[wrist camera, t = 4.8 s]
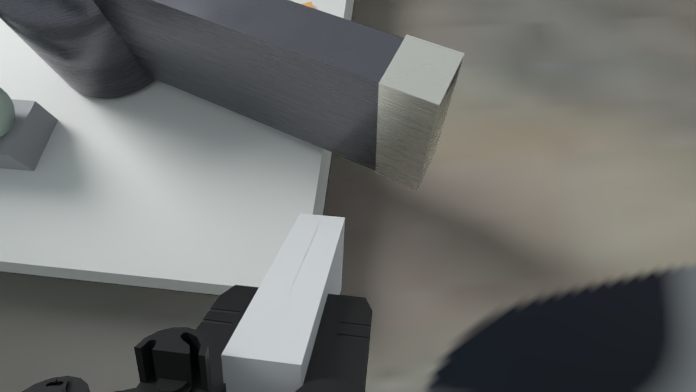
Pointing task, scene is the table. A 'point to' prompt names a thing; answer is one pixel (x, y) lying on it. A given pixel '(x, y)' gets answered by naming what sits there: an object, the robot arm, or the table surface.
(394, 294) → the table surface
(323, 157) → the instrument base
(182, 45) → the dark grey lever
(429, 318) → the table surface
